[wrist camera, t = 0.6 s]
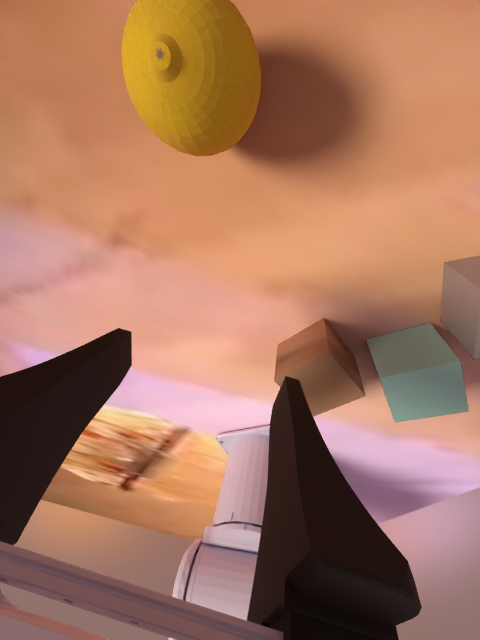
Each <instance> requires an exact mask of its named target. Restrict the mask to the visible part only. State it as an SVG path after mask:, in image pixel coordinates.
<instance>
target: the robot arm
mask: <svg viewBox="0 0 480 640" xmlns="http://www.w3.org/2000/svg"><path fill="white" fill-rule="evenodd" d="M131 365H132V354H131V332H130V331H127V330H123V329H120V328H118V329H116V330H114V331H111V332H109V333H107V334H105V335H103V336H101V337H99V338H97V339H95V340H93V341H91V342H89V343H87V344H85V345H82V346H80V347H78V348H76V349H74V350H72V351H69V352H67V353H65V354H62V355H60V356H58V357H55V358H53V359H51V360H48V361H46V362H43V363H41V364H38V365H35V366H32V367H30V368H27V369H24V370H21V371H18V372H15V373H12V374H8V375H5V376H1V377H0V582H2V583H5V584H8V585H11V586H14V587H17V588H20V589H23V590H26V591H29V592H32V593H35V594H38V595H42V596H45V597H48V598H51V599H54V600H57V601H60V602H63V603H66V604H69V605H72V606H75V607H78V608H81V609H84V610H87V611H90V612H93V613H96V614H100V615H103V616H105V617H109V618H112V619H115V620H118V621H121V622H124V623H127V624H130V625H133V626H136V627H139V628H142V629H145V630H149V631H151V632H155V633H157V634H160V635H163V636H167V637H169V638H168V640H399V639H398V635H397V630H396V625H398V624H400V623H403V622H405V621H408V620H410V619H412V618H414V617H416V616H417V615H418V614H419V612H420V610H421V608H422V607H421V603H420V600H419V596H418V592H417V589H416V585H415V581H414V578H413V575H412V573H411V570H410V567H409V564H408V561H407V560H406V559H405V557H404V556H403V555H402V554H401V552H400V551H399V550H398V549H397V548H396V546H395V545H394V544H393V543H392V542H391V540H390V539H389V538H388V537H387V536H386V534H385V533H384V532H383V531H382V530H381V528H380V527H379V526H378V525H377V523H376V522H375V521H374V519H373V518H372V517H371V515H370V514H369V513H368V511H367V510H366V509H365V507H364V506H363V504H362V503H361V502H360V500H359V499H358V497H357V496H356V494H355V493H354V491H353V490H352V488H351V487H350V485H349V484H348V482H347V481H346V479H345V478H344V476H343V474H342V473H341V471H340V470H339V468H338V466H337V464H336V463H335V461H334V459H333V457H332V456H331V454H330V452H329V450H328V448H327V446H326V444H325V442H324V440H323V438H322V436H321V434H320V432H319V429H318V427H317V425H316V423H315V420H314V418H313V416H312V413H311V411H310V408H309V406H308V403H307V400H306V397H305V395H304V392H303V389H302V386H301V382H300V381H299V380H298V379H295V378H291V377H288V376H285V379H284V381H283V383H282V386H281V388H280V390H279V393H278V395H277V398H276V400H275V402H274V405H273V409H272V415H271V421H270V425H267V426H261V427H256V428H250V429H244V430H239V431H233V432H227V433H221V434H217V435H216V440H217V442H218V443H219V444H220V445H221V447H222V448H223V449H224V451H225V452H226V453H227V455H228V457H227V462H226V466H225V471H224V475H223V479H222V484H221V488H220V493H219V497H218V501H217V506H216V510H215V515H214V519H213V523H212V526H206V528H205V532H204V536H203V539H202V538H197V539H196V540H195V541H194V542H193V543H192V545H191V546H190V547H189V548H188V549H187V551H186V553H185V554H184V556H183V559H182V561H181V564H180V567H179V570H178V573H177V577H176V580H175V585H174V589H173V594H172V597H171V596H169V595H165V594H162V593H159V592H156V591H153V590H150V589H147V588H144V587H141V586H138V585H134V584H131V583H128V582H125V581H122V580H119V579H116V578H112V577H110V576H106V575H103V574H100V573H97V572H94V571H91V570H88V569H84V568H82V567H79V566H75V565H72V564H69V563H66V562H63V561H60V560H57V559H53V558H51V557H47V556H44V555H41V554H38V553H35V552H32V551H29V550H26V549H23V548H19V547H16V546H13V545H14V544H15V543H17V541H18V540H19V538H20V536H21V534H22V532H23V530H24V528H25V526H26V525H27V523H28V521H29V519H30V517H31V516H32V514H33V512H34V510H35V508H36V507H37V505H38V503H39V501H40V500H41V498H42V496H43V494H44V493H45V491H46V489H47V488H48V486H49V484H50V482H51V481H52V479H53V477H54V476H55V474H56V472H57V471H58V469H59V468H60V466H61V464H62V463H63V461H64V460H65V458H66V456H67V455H68V453H69V452H70V450H71V449H72V447H73V446H74V444H75V442H76V441H77V439H78V438H79V436H80V435H81V433H82V432H83V431H84V429H85V428H86V426H87V425H88V424H89V423H90V421H91V420H92V419H93V418H94V416H95V415H96V414H97V413H98V411H99V410H100V409H101V408H102V406H103V405H104V404H105V403H106V401H107V400H108V399H109V398H110V396H111V395H112V394H113V392H114V391H115V390H116V389H117V387H118V386H119V385H120V383H121V382H122V380H123V379H124V377H125V375H126V374H127V372H128V370H129V369H130V367H131ZM0 640H110V639H108V638H105V637H103V636H100V635H97V634H94V633H91V632H89V631H86V630H83V629H80V628H77V627H75V626H72V625H68V624H65V623H62V622H59V621H56V620H53V619H50V618H47V617H44V616H41V615H37V614H34V613H31V612H27V611H24V610H21V609H18V606H17V605H15V604H14V603H13V602H11V601H10V600H8V599H7V598H6V597H5V596H4V595H3V594H2V593H1V590H0Z"/></svg>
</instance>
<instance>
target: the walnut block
mask: <svg viewBox="0 0 480 640" xmlns="http://www.w3.org/2000/svg"><path fill="white" fill-rule="evenodd" d="M285 376H288V377H291V378H295V379H298V380H299V381H300V382H301V386H302V389H303V392H304V395H305V397H306V400H307V403H308V406H309V408H310V411H311V413H312V416H316V415H318V414H321V413H323V412H326V411H328V410H331V409H334V408H336V407H339V406H341V405H344V404H346V403H349V402H351V401H354V400H356V399H359V398H361V397H364V396H366V395H365V392H364V388H363V385H362V381H361V378H360V374H359V371H358V367H357V364H356V360H355V357H354V355H353V354H352V353H351V351H350V350H349V349H348V348H347V346H346V345H345V344H344V343H343V341H342V340H341V339H340V338H339V337H338V335H337V334H336V333H335V332H334V330H333V329H332V328H331V327H330V325H329V324H328V323H327V322H326V321H325V319H324V318H323V319H322V320H320V321H318V322H316V323H315V324H313V325H311V326H309V327H308V328H306V329H304V330H302V331H301V332H299V333H297V334H295V335H294V336H292V337H290V338H289V339H287V340H285V341H283V342H282V343H280V344H278V348H277V358H276V368H275V378H274V381H275V382H276V383H277V384H278V385H279V386H280V387H281V386H282V383H283V381H284V379H285Z"/></svg>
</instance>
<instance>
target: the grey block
mask: <svg viewBox="0 0 480 640" xmlns="http://www.w3.org/2000/svg"><path fill="white" fill-rule="evenodd" d="M440 321H441V322H442V323H443V324H444V325H445V327H446V328H447V329H448V330H449V331H450V332H451V334H452V335H453V336H454V337H455V338H456V339H457V341H458V342H459V343H460V344H461V345H462V346H463V348H464V349H465V350H466V351H467V352H468V353H469V355H470V356H471V357H472V358H473V359H480V256H476V257H470V258H465V259H460V260H454V261H449V262H444V270H443V286H442V303H441V319H440Z"/></svg>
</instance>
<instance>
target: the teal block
mask: <svg viewBox="0 0 480 640" xmlns="http://www.w3.org/2000/svg"><path fill="white" fill-rule="evenodd" d="M366 341H367V344H368V347H369V350H370V353H371V356H372V359H373V362H374V365H375V368H376V371H377V374H378V377H379V380H380V383H381V386H382V388H383V391H384V394H385V397H386V399H387V402H388V405H389V408H390V410H391V413H392V416H393V418H394V421H395V422H402V421H408V420H415V419H422V418H428V417H435V416H441V415H448V414H455V413H461V412H468V411H469V410H468V404H467V398H466V391H465V385H464V379H463V373H462V367H461V361H460V360H459V358H458V357H457V356H456V355H455V353H454V352H453V351H452V350H451V348H450V347H449V346H448V344H447V343H446V342H445V341H444V339H443V338H442V337H441V336H440V334H439V333H438V332H437V331H436V329H435V328H434V327H433V325H432V324H431V323H426V324H423V325H419V326H415V327H411V328H407V329H404V330H400V331H396V332H392V333H389V334H385V335H381V336H377V337H373V338H370V339H366Z"/></svg>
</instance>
